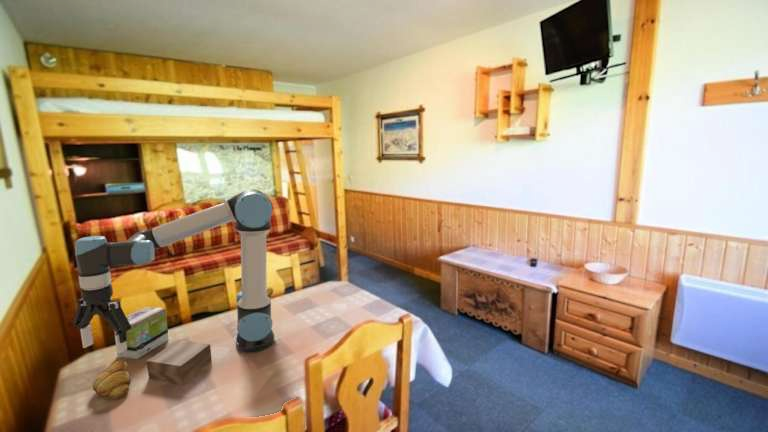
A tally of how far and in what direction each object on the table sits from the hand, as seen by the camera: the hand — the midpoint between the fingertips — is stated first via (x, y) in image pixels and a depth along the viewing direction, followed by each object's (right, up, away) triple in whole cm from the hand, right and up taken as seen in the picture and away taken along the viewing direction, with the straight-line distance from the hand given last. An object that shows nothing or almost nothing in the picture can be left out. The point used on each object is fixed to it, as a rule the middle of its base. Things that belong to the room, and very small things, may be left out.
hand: (105, 348), depth 111 cm
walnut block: (+16, -13, +15) cm, 26 cm away
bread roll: (+1, -16, +3) cm, 16 cm away
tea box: (-7, -11, +29) cm, 32 cm away
